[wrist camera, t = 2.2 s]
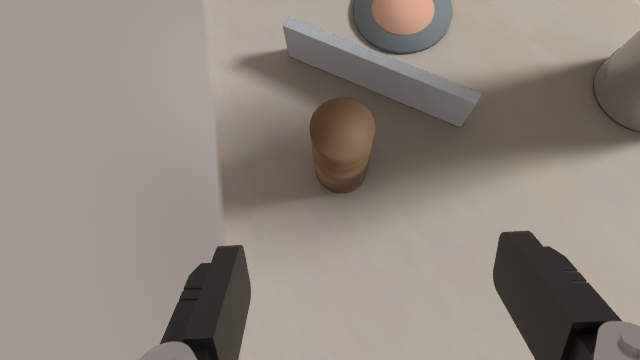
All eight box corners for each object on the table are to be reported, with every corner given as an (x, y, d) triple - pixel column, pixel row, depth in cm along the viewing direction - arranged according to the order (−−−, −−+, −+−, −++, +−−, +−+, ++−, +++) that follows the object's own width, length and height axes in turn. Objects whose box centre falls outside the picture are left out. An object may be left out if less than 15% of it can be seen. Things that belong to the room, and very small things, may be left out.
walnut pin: (374, 158, 40) (386, 113, 30) (352, 201, 38) (358, 168, 29) (329, 138, 40) (327, 88, 31) (307, 180, 39) (298, 141, 30)
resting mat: (465, -8, 45) (467, -12, 44) (428, 68, 42) (430, 65, 42) (377, -39, 47) (378, -43, 46) (337, 32, 44) (337, 28, 44)
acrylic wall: (464, 117, 40) (481, 93, 36) (460, 127, 40) (476, 104, 35) (293, 47, 44) (288, 16, 39) (288, 55, 43) (282, 25, 39)
